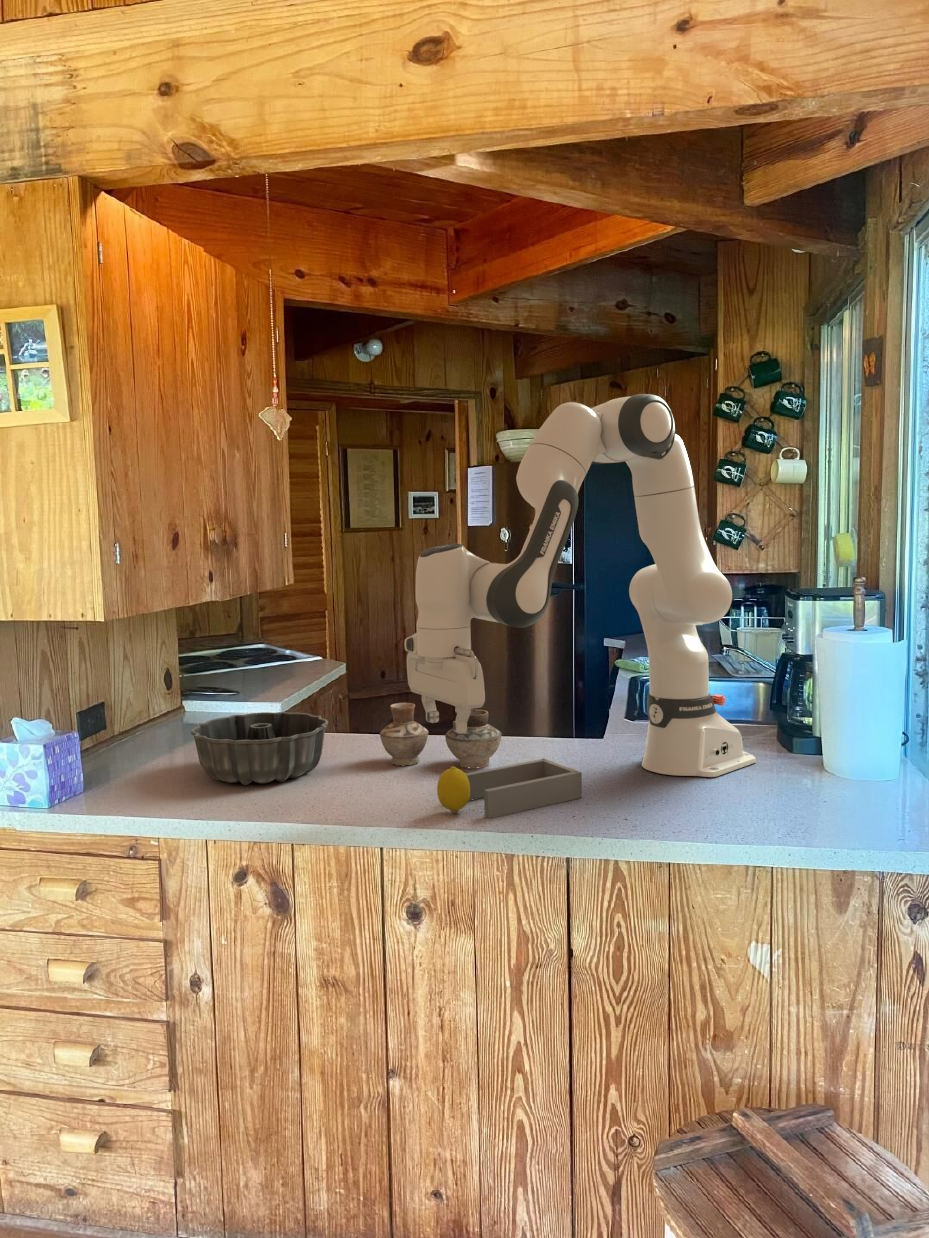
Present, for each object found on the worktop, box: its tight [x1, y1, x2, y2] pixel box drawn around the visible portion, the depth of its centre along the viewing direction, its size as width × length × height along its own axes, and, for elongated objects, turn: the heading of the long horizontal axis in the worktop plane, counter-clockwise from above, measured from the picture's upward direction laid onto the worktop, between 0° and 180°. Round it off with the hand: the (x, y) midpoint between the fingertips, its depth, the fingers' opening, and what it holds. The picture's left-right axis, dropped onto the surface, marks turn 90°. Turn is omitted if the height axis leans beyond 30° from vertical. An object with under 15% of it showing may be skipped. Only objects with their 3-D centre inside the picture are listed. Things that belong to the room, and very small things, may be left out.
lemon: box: [436, 765, 470, 814], centre depth 153 cm, size 6×6×8 cm
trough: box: [465, 758, 583, 819], centre depth 160 cm, size 19×11×4 cm, turn 120°
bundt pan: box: [190, 711, 329, 786], centre depth 182 cm, size 26×26×10 cm
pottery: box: [379, 702, 502, 769], centre depth 184 cm, size 11×25×12 cm, turn 77°
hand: (445, 727), depth 151 cm, fingers open, 8 cm apart
